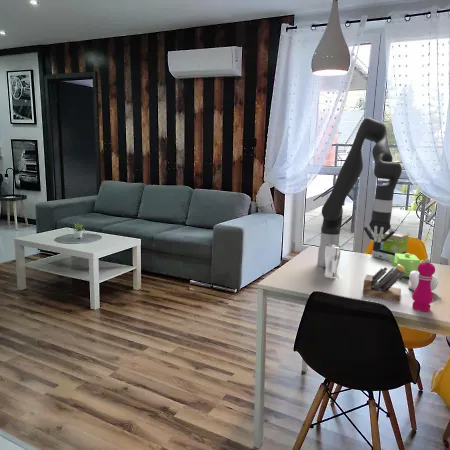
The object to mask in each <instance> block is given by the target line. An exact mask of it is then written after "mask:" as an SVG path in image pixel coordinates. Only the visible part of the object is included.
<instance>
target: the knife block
mask: <svg viewBox="0 0 450 450" xmlns="http://www.w3.org/2000/svg"><path fill="white" fill-rule="evenodd" d="M393 269H394V267H391V269H389V271H387V270H388V268H387V267H386V266H385V267H384V268H382V267H381V268H380V269H379V270H378V271H377V272H376V273H375V274H374V275H372V274H366V275H365V277H364V279H363V287H362V295H364V296H366V297H368V296H369V297H372V298H378V299H383V300H390V301H394V302H400V300H401V295H402V293H401V292H402V288H398V287H393V286H394V285H395V284H396V283H397V282H398V281H399V280H400V279H402V278H401V277H402V276H403V275H404V274H405V273H404V272H402V273H400V272H399V273H398V274H397V275H396V276H395V277H394V278H393V279H392V280H391V281H390V282H389V283H388V284H387V285H386V286H385V287H384V288H383V289H382V288H381V286H382V285H383V284H384V283H385V282H386V281H387V280H388V279H389V278H390V277H391V276H392V275H393V274H394V273H393V272H391V271H392V270H393ZM390 272H391V273H390ZM389 273H390V274H389ZM388 274H389V275H388ZM387 275H388V276H387ZM386 276H387V277H386ZM385 277H386V278H385ZM403 277H404V276H403ZM384 278H385V279H384ZM383 279H384V280H383ZM382 280H383V281H382ZM381 281H382V282H381ZM380 282H381V283H380ZM379 283H380V284H379ZM378 284H379V285H378Z"/></svg>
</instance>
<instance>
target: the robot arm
mask: <svg viewBox="0 0 450 450" xmlns="http://www.w3.org/2000/svg"><path fill="white" fill-rule="evenodd" d="M357 129H358V130H357V131H356V134H355V137H354V140H353V142H352V145H351V147H350V150H349V152H348V153H347V156H346V158H345V160H344V162H343V164H342V166H341V168H340V171H339V173H338V175H337V177H336V180H335V183H334V185H333V188H332V190H331V192H330V194H329V196H328V197H327V199H326V201H325V203H324V204H323V206H322V208H321V215H322V217H323V221H322V224H321V227H320V240H319V241H320V243H319V247H318V253H317V264H316V265H317V267H318V266H319V267H321V268H325V269H326V266H325V249H326V245H327V244H336V245H339V246H340V236H341V234H340V233H341V229H342V224H343V223H342V222H343V214H344V213H343V211H344V209H343V206H344V203H345V201H346V198H347V197H348V195H349V193H350V192H351V190H352V189H354V186H355V185H356V183H357V181H358V179H359V177H360V176H361V173H362V171H363V167H364V160H363V145H364V142H365V140H368V141H370V142H374V143H375V144H374V146H373V148H372V158H373V160H374V169H373V175H374V177H376V178H377V179H380V180H387V182H386V183H382V184H378V185H376V187H375V194H374V200H373V204H372V211H371V219H370V222H369V224H368V225H367V226H364V227H363V230H364V232H365V233H366V235H367V237H368V238H369V240H372V241H373V243H374V245H372V250H373V249H375V250H376V251H378V250H380V248H381V242H385V241H386V240H387V239H389V238H390V237H391V236H392V235H393V234H394V233H395V232H396V230H394V229H393V228H392V225H391V218H392V211H393V206H394V205H393V200H394V195H395V189H396V186H397V184H398V182H399V179H400V177H401V175H402V170H403V169H402V164H400V163H399V162H395V161H393V155H392V152H391V150H390V147H389V143H388V141H389V140H388V132H387V127H386V125H385V123H383V122H381V121H379V120H376V119H373V118H371V117H366V118H364V119H363V120H362V122H361V123H360V124H359V126H358V128H357ZM371 231H372V232H371ZM387 231H389V232H388V233H389V234H388V235H387V236H386V237H385V238H383V234H385V233H386V232H387ZM378 234H379V239H378Z"/></svg>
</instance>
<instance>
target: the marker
mask: <svg viewBox="0 0 450 450" xmlns="http://www.w3.org/2000/svg"><path fill="white" fill-rule="evenodd" d="M393 268H394V267H393ZM404 270H405V268H404V267H403V266H402V265H400V264H398V265H397V266H396V267H395V268H394V269H393V270H392V271H391V272H393V273H394V274H393V275H392V276H391V277H390V278H389V279H388V280H387V281H386V282H385V283H384V284H383V285H382V286H381V288H382V289H383V288H384V287H385V286H386V285H387V284H388V283H389V282H390V281H391V280H392V279H393V278H394V277H395V276H396V275H397V274H398V273H399V272H400V273H401V272H403V271H404ZM391 272H390V273H391ZM390 273H389V274H390ZM389 274H388V275H389ZM388 275H387V276H388ZM387 276H386V277H387ZM386 277H385V278H386ZM385 278H384V279H385ZM384 279H383V280H384ZM383 280H382V281H383ZM382 281H381V282H382ZM381 282H380V283H381ZM380 283H379V284H380ZM379 284H378V285H379Z"/></svg>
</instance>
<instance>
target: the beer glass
mask: <svg viewBox="0 0 450 450" xmlns="http://www.w3.org/2000/svg"><path fill="white" fill-rule="evenodd" d="M340 259H341V245H340V244H339V245H336V244H327V245H326V249H325V266H326V268H325V271H324V274H323V277H324V278H327V279H331V280H334V279H338V266H339V264H340Z"/></svg>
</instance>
